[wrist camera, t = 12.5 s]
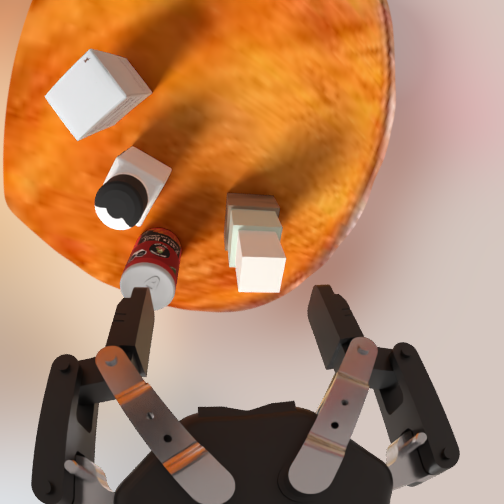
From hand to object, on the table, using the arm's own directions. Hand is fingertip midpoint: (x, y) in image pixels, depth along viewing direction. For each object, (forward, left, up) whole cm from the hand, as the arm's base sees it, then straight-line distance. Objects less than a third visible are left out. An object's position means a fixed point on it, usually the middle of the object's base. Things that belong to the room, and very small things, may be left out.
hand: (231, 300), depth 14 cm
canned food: (+15, -10, -30) cm, 35 cm away
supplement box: (-10, -15, -30) cm, 35 cm away
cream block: (+9, +4, -20) cm, 23 cm away
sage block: (+9, +4, -25) cm, 27 cm away
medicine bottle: (+3, -12, -30) cm, 33 cm away
